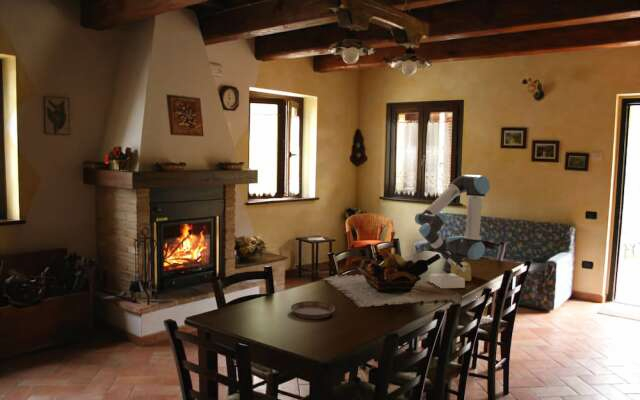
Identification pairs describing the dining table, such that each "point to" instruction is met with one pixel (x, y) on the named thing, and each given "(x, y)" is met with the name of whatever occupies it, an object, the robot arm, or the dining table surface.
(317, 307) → the plant saucer
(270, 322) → the dining table surface
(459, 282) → the stand
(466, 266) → the cheese
